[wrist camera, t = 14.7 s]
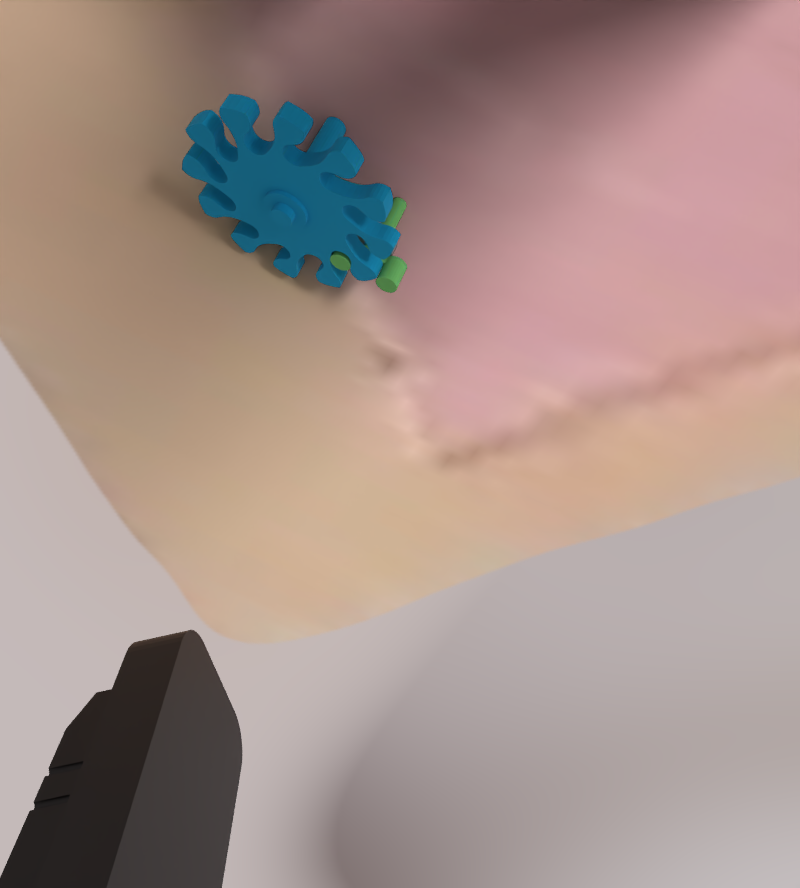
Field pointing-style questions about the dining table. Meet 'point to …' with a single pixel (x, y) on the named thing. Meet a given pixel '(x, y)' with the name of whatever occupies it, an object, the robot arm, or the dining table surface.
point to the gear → (296, 193)
